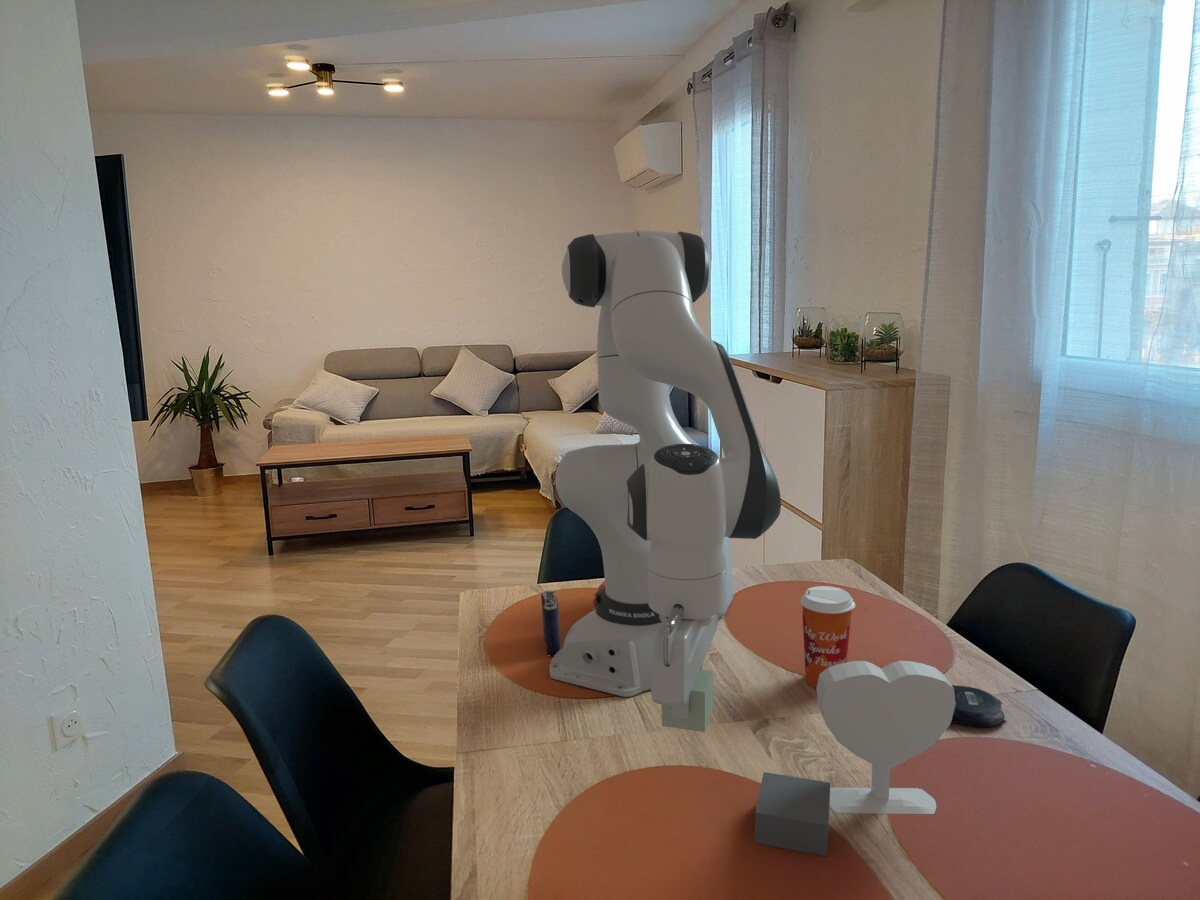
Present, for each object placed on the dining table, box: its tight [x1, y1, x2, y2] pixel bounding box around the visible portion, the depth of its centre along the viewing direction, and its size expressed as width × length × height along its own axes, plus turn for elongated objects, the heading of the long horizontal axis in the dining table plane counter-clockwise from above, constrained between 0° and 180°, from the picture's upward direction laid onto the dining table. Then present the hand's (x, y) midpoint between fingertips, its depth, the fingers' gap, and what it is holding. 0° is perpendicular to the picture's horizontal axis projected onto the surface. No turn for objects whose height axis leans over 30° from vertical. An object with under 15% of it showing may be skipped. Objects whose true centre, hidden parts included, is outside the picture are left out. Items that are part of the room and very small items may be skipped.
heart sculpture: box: [815, 660, 956, 815], centre depth 97 cm, size 16×5×18 cm, turn 87°
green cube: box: [661, 669, 714, 733], centre depth 92 cm, size 5×5×5 cm
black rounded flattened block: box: [951, 684, 1006, 728], centre depth 118 cm, size 9×6×15 cm
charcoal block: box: [754, 771, 831, 857], centre depth 94 cm, size 8×8×4 cm
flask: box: [540, 589, 562, 656], centre depth 143 cm, size 9×3×11 cm, turn 8°
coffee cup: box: [800, 585, 856, 689], centre depth 126 cm, size 8×8×15 cm
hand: (687, 701), depth 92 cm, fingers closed on green cube, 5 cm apart
